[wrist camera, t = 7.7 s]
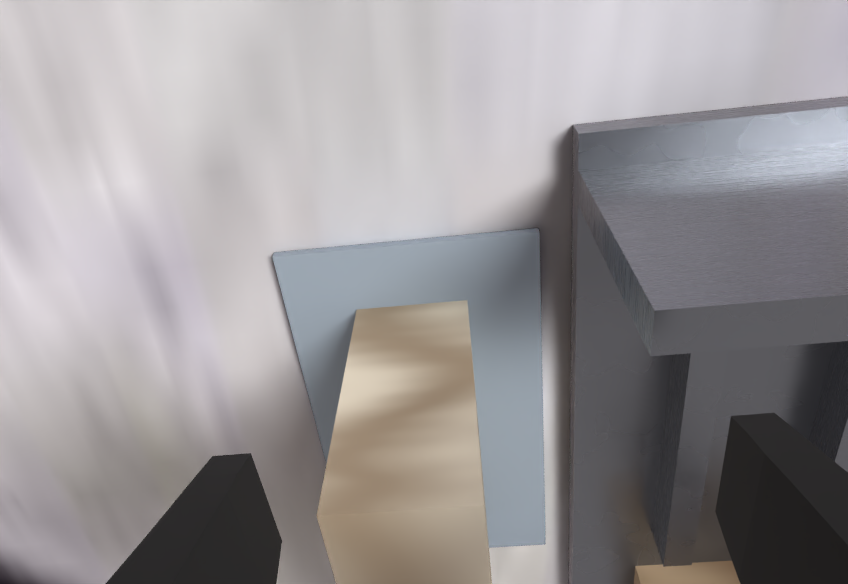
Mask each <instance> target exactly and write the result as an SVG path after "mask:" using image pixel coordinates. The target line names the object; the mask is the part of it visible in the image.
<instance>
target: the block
mask: <svg viewBox="0 0 848 584" xmlns="http://www.w3.org/2000/svg"><path fill="white" fill-rule="evenodd" d="M317 519H318V523H319V526H320V530H321V533H322V537H323V540H324V544H325V547H326V551H327V554H328V558H329V561H330V565H331V568H332V571H333V575H334V578H335V582H336V584H492V579H491V567H490V555H489V543H488V531H487V519H486V508H485V496H484V485H483V473H482V462H481V450H480V439H479V427H478V416H477V404H476V393H475V382H474V370H473V359H472V347H471V336H470V324H469V313H468V301H467V300H463V301H451V302H439V303H427V304H416V305H404V306H392V307H380V308H368V309H357V310H356V315H355V321H354V326H353V331H352V336H351V341H350V346H349V351H348V357H347V362H346V367H345V372H344V377H343V382H342V387H341V393H340V398H339V403H338V408H337V413H336V418H335V423H334V428H333V434H332V439H331V444H330V449H329V454H328V459H327V464H326V470H325V475H324V480H323V485H322V490H321V495H320V500H319V505H318V511H317Z"/></svg>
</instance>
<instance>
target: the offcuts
mask: <svg viewBox="0 0 848 584" xmlns="http://www.w3.org/2000/svg"><path fill="white" fill-rule="evenodd" d="M634 584H741V583H740V581H739V579H738V576H737V573H736V571H735V568H734V565H733V562H732V561H716V562H698V563H692V565H684V566H666V567H663V564H662V565H644V566H635V575H634Z"/></svg>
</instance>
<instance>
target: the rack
mask: <svg viewBox="0 0 848 584" xmlns="http://www.w3.org/2000/svg"><path fill="white" fill-rule="evenodd" d="M763 413H775V414H777V415H778V416H779V417H780V418H782V419H783V420H784V421H785V422H787V423H788V424H789V425H790V426H792V427H793V428H794V429H795V430H797V431H798V432H799V433H800V434H801V435H803V436H804V437H805V438H806V439H808V440H809V441H810V442H811V443H812V444H814V445H815V446H816V447H817V448H818V449H820V450H821V451H822V452H823V453H825V454H826V455H827V456H828V457H829V458H831V459H832V460H833V461H834V462H836V463H837V464H838V465H839V466H840V467H842V468H843V469H844V470H845V471H847V472H848V97H838V98H829V99H819V100H809V101H800V102H790V103H780V104H770V105H761V106H751V107H741V108H732V109H722V110H712V111H702V112H693V113H683V114H673V115H664V116H654V117H644V118H634V119H625V120H615V121H605V122H596V123H586V124H576V125H573V185H572V289H571V393H570V497H569V584H634V575H635V566H644V565H662V564H663V567H666V566H684V565H692V563H698V562H716V561H732V560H731V557H730V554H729V551H728V548H727V545H726V542H725V539H724V536H723V533H722V530H721V527H720V524H719V521H718V518H717V515H716V512H715V510H716V504H717V498H718V492H719V486H720V480H721V473H722V467H723V461H724V455H725V449H726V443H727V437H728V431H729V425H730V419H731V416H737V415H750V414H763Z"/></svg>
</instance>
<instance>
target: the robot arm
mask: <svg viewBox="0 0 848 584" xmlns="http://www.w3.org/2000/svg"><path fill="white" fill-rule="evenodd" d="M715 512H716V515H717V518H718V521H719V524H720V527H721V530H722V533H723V536H724V539H725V542H726V545H727V548H728V551H729V554H730V557H731V560H732V562H733V565H734V568H735V571H736V573H737V576H738V579H739V581H740V583H741V584H848V472H847V471H845V470H844V469H843V468H842V467H840V466H839V465H838V464H837V463H836V462H834V461H833V460H832V459H831V458H829V457H828V456H827V455H826V454H825V453H823V452H822V451H821V450H820V449H818V448H817V447H816V446H815V445H814V444H812V443H811V442H810V441H809V440H808V439H806V438H805V437H804V436H803V435H801V434H800V433H799V432H798V431H797V430H795V429H794V428H793V427H792V426H790V425H789V424H788V423H787V422H785V421H784V420H783V419H782V418H780V417H779V416H778V415H777V414H775V413H763V414H750V415H737V416H731V419H730V425H729V431H728V437H727V443H726V449H725V455H724V461H723V467H722V473H721V480H720V486H719V492H718V498H717V504H716V510H715ZM281 543H282V540H281V537H280V534H279V531H278V529H277V526H276V523H275V520H274V517H273V514H272V512H271V509H270V506H269V503H268V500H267V498H266V495H265V492H264V489H263V486H262V484H261V481H260V478H259V475H258V472H257V470H256V467H255V464H254V461H253V458H252V456H251V453H249V454H236V455H223V456H213V457H212V458H211V459H210V460H209V461H208V463H207V464H206V465H205V466H204V467H203V468H202V470H201V471H200V472H199V473H198V474H197V475H196V477H195V478H194V479H193V480H192V481H191V483H190V484H189V485H188V486H187V487H186V489H185V490H184V491H183V492H182V494H181V495H180V496H179V497H178V498H177V500H176V501H175V502H174V503H173V504H172V506H171V507H170V508H169V509H168V511H167V512H166V513H165V514H164V515H163V517H162V518H161V519H160V520H159V521H158V523H157V524H156V525H155V526H154V528H153V529H152V530H151V531H150V532H149V534H148V535H147V536H146V537H145V538H144V539H143V541H142V542H141V543H140V544H139V545H138V547H137V548H136V549H135V550H134V551H133V552H132V554H131V555H130V556H129V557H128V558H127V559H126V561H125V562H124V563H123V564H122V565H121V566H120V568H119V569H118V570H117V571H116V572H115V573H114V575H113V576H112V577H111V578H110V579H109V580H108V582H107V583H106V584H276V581H277V574H278V566H279V559H280V551H281Z"/></svg>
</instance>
